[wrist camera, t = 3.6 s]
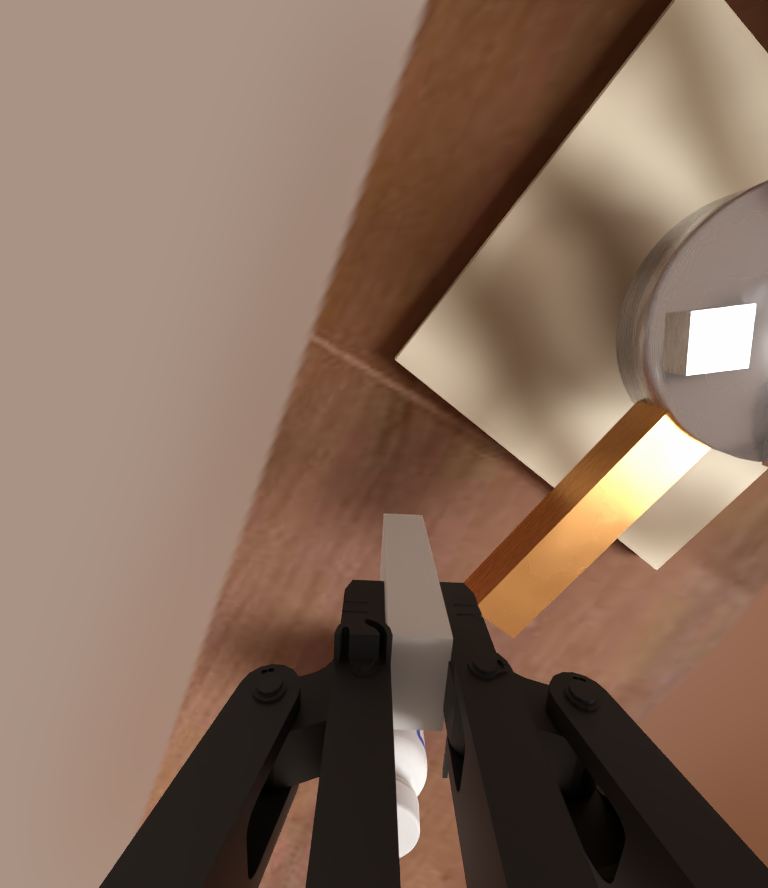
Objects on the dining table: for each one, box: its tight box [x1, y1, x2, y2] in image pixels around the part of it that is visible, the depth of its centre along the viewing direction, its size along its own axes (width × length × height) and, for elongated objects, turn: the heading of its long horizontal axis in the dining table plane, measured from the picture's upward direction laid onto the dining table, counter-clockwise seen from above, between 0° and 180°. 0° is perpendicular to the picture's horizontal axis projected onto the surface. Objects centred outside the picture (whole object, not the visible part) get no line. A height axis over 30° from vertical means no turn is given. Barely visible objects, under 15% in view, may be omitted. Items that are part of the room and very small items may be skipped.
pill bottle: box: [394, 729, 427, 858], centre depth 23 cm, size 5×5×10 cm
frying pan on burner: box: [464, 180, 768, 638], centre depth 16 cm, size 21×10×4 cm, turn 142°
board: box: [395, 0, 768, 570], centre depth 20 cm, size 20×20×5 cm
